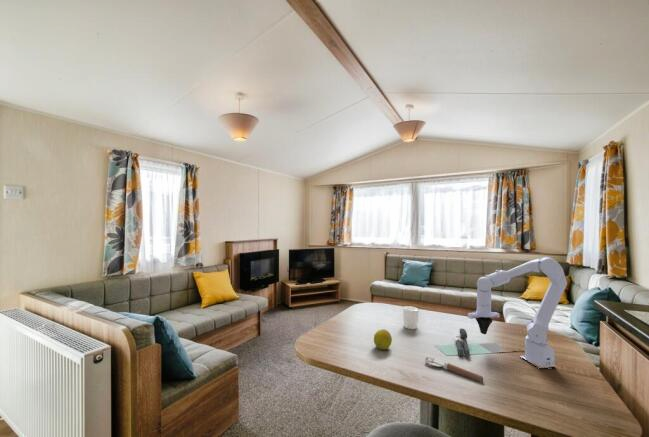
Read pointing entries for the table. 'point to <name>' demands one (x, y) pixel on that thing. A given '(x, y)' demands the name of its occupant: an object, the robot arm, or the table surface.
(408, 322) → the white cup
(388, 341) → the lemon
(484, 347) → the mat
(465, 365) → the table surface
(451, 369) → the brown handled opener
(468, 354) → the can opener
